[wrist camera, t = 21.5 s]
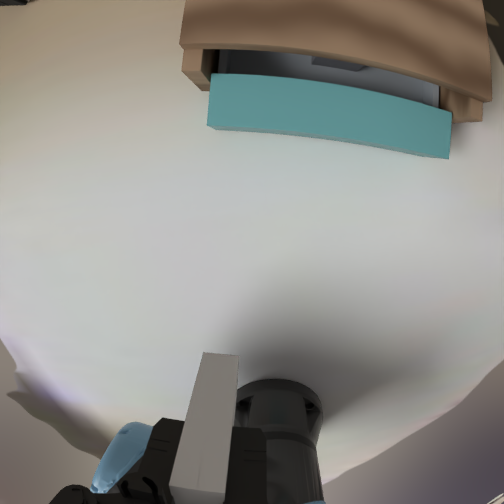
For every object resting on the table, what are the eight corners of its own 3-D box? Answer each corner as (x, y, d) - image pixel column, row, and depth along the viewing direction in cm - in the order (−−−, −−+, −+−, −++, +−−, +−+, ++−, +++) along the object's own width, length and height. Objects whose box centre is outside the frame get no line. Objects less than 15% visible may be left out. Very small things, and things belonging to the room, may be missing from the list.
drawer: (422, 156, 32) (448, 159, 26) (216, 129, 32) (206, 125, 27) (421, -5, 25) (442, -22, 19) (233, -39, 25) (229, -65, 20)
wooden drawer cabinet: (437, 124, 31) (491, 120, 21) (201, 91, 31) (176, 66, 21) (432, -8, 25) (472, -39, 15) (219, -45, 25) (206, -96, 15)
